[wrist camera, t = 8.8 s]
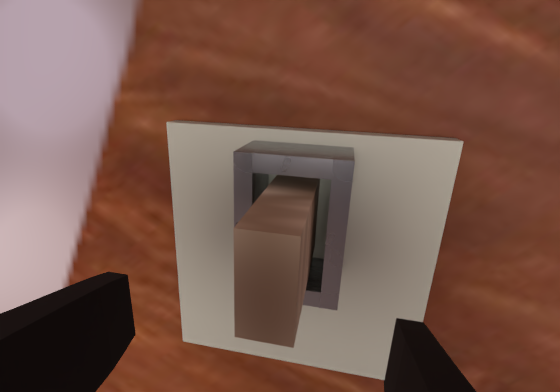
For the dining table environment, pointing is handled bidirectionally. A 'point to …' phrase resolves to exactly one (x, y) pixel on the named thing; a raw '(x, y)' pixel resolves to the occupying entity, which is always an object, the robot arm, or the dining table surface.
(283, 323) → the wooden block
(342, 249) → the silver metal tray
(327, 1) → the dining table surface
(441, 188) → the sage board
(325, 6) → the dining table surface
